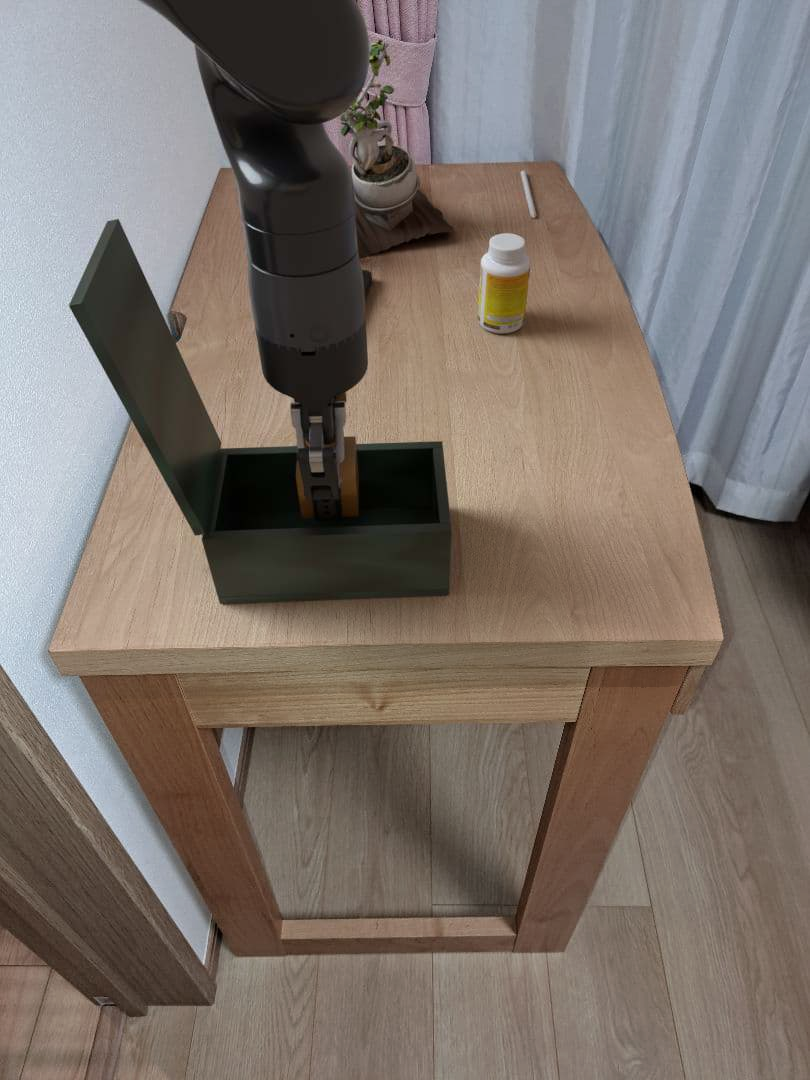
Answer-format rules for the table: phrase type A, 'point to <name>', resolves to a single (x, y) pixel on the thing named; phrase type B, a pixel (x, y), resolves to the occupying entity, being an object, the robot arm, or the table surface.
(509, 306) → the supplement bottle
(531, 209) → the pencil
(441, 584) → the chest
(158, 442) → the lid
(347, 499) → the block
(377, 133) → the potted plant
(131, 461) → the table surface
